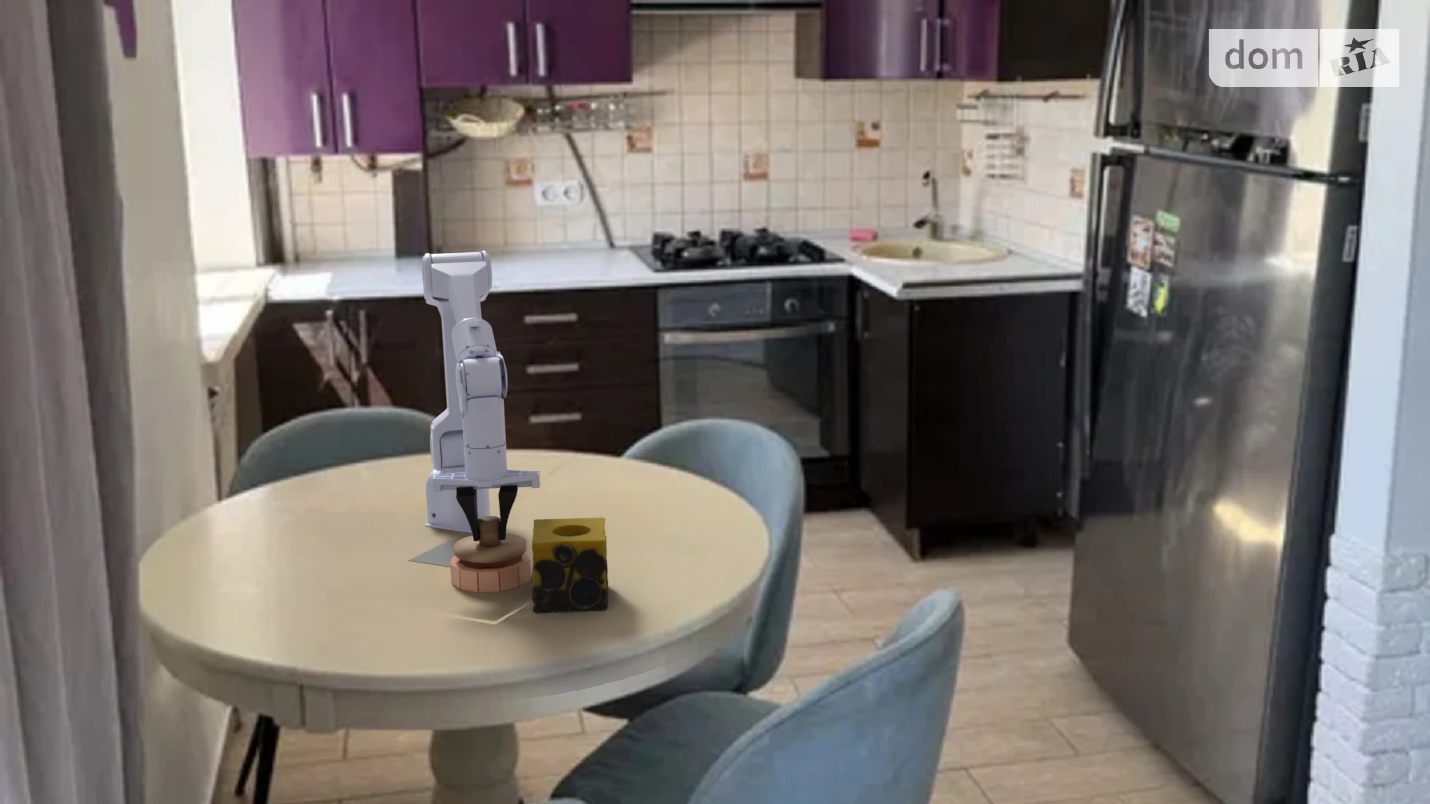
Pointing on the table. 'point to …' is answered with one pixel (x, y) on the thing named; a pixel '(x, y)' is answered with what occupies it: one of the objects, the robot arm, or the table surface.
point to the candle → (569, 565)
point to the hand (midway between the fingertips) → (489, 538)
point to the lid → (490, 544)
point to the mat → (437, 555)
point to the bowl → (491, 574)
